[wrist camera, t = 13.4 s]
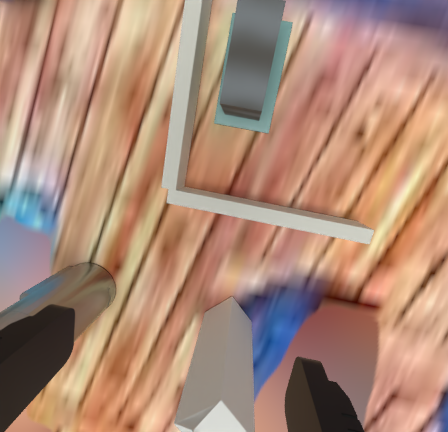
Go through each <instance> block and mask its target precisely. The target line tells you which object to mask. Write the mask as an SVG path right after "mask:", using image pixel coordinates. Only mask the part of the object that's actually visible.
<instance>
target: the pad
mask: <svg viewBox="0 0 448 432" xmlns="http://www.w3.org/2000/svg"><path fill="white" fill-rule="evenodd" d="M234 18H235V13H233V14H232V20H231V26H230V32H229V37H228V43H227V49H226V55H225V61H224V67H223V73H222V79H221V85H220V91H219V97H218V103H217V109H216V115H215V121H214V123H215V124H220V125H225V126H231V127H236V128H241V129H247V130H252V131H258V132H263V133H269V129H270V124H271V119H272V115H273V110H274V106H275V101H276V97H277V92H278V87H279V83H280V78H281V74H282V69H283V65H284V60H285V55H286V51H287V46H288V42H289V37H290V33H291V28H292V23H293V22H287V21H281V25H280V30H279V34H278V39H277V44H276V48H275V53H274V58H273V62H272V67H271V71H270V76H269V81H268V85H267V90H266V95H265V99H264V104H263V108H262V113H261V116H260V119H259V121H257V120H252V119H247V118H241V117H236V116H231V115H226V114H224V112H223V110H222V107H221V105H220V98H221V92H222V86H223V81H224V75H225V69H226V64H227V58H228V52H229V47H230V41H231V35H232V30H233V24H234Z"/></svg>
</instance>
